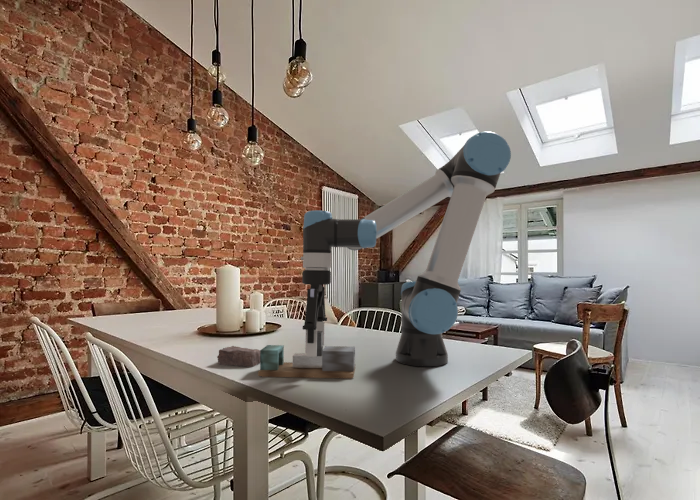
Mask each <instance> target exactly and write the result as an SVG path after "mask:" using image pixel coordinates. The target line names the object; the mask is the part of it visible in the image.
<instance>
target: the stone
mask: <svg viewBox="0 0 700 500" xmlns="http://www.w3.org/2000/svg"><path fill="white" fill-rule="evenodd" d="M260 350H261V349H257V348H254V349H253V348H247V347H241V346H234V345H232V346H226V347H223V348H221V349H219V350H218V355H217V356H216V357H217V362H218V364H219V365H221V366H238V367H250V368H251V367H256V366H258V365H259V364H260Z"/></svg>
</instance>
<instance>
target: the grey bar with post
mask: <svg viewBox="0 0 700 500" xmlns="http://www.w3.org/2000/svg"><path fill="white" fill-rule="evenodd" d="M323 349H324V345H323V331H317V356H316V357H313V356H305V353H297V352H296V353H293V355H292V363H293V368H322V351H323ZM354 367H355V368H356V353H355V354H354Z"/></svg>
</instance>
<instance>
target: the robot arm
mask: <svg viewBox="0 0 700 500" xmlns="http://www.w3.org/2000/svg"><path fill="white" fill-rule="evenodd" d="M511 157H512V152H511V148H510V145H509V143H508V142H507V140H506V139H505V137H503V136H501V135H500V134H498V133H497V132H492V131H481V132H477V133H476V134H473V135H472V136H470V137H469V138H468V139H467V140H466V142H465V143H464V145H463V146H462V147H461V148H460V149H459V150H458V151H457V153H455V155H454V156H452V158H451V159H450V160H449V161H448V162H446V163H445V164H444V165H443V166H441V167H439V168H437V169H436V171H435V174H434V175H432V176H431V177H430V178H428V179H426V180H424V181H423V182H421V183H419V184H417V185H416V186H414V187H413V188H411V189H409V190H407V191H405V192H404V193H403V194H401V195H399V196H397V197H396V198H393V199H392V200H391V201H389V202H387V203H386V204H384V205H382V206H380V207H379V208H377V209H375V210H373V211H372V212H370V213H369V214H367V215H365V216H364V217H362V218H359V219H346V218H345V219H339V218H338V219H337V218H333V214H332V212H330V211H327V210H317V209H316V210H308V211H306V212H305V213H304V216H303V227H302V253H303V254H302V256H300V260H301V261H302V268H303V269H304V270H302V273H301V274H302V278H301V279H302V280H301V281H302V284H303V285H310V287H309V288H308V289H306V290H307V291H306V293H307V294H306V305H305V306H306V307H305V314H304V315H305V317H304V325H302V330H303V331H304V330H305V347H304V349H305V356H313V357H316V356H317V331H323V346H325V322H328V317H327V315H326V303H325V301H326V300H325V299H326V298H325V297H326V295H325V294H326V292H325V289H326V288H325V286H326V285H327V286H328V285H330V284H331V282H332V281H331V280H332V272H331V270H330V269H331V268H332V248H347V249H349V250H351V251H359V250H362V249H367V248H375V247H376V245H377V239H379V238H380V237H382V236H384V235H385V234H387V233H389V232H390V231H393V230H394V229H396V228H397V227H399V226H400V225H402V224H403V223H405V222H407V221H409V220H410V219H412V218H414V217H416V216H417V215H420V214H421V213H422V212H424V211H426V210H428V209H429V208H431V207H432V206H435V205H436V204H438V203H439V202H441V201H443V200H444V199H446V198H450V199H449V202H448V204H447V208H446V210H445V214H444V216H443V219H442V222H441V225H440V228H439V231H438V234H437V236H436V240H435V242H434V246H433V248H432V252H431V254H430V258H429V260H428V263H427V265H426V268H425V269H426V270H425V271H424V272H422V273H420V274H418V275H417V277H416V280H414V281H407V282H404V283H402V285H401V291H400V296H401V298H400V299H401V335H400V337H399V341H398V344H397V347H396V351H395V361H396V362H398V363H400V364H403V365H405V366H406V365H408V366H413V367H438V366H444V365H446V364H447V363H448V362H449V355H448V350H447V348H446V346H445V341H444V339H443V335H442V334H443V333H446V332H447V331H449V330H450V329H451V328H452V327H453V326H454V325H455V323H456V322H457V318H458V314H459V308H458V299H459V296H460V295H461V291H462V288H461V287H460V285H459V282H458V281H459V278H460V274H461V272H462V269H463V267H464V264H465V261H466V258H467V255H468V252H469V249H470V245H471V243H472V240H473V236H474V234H475V231H476V228H477V225H478V222H479V220H480V216H481V213H482V212H483V207H484V204H485V202H486V199H487V198H486V197H488V196H489V195H491V194H493V193H494V192H495V190H496V187H497V184H498V181H499V179H500V176H501V173H503V172H504V171H505V170H506V168H507V167H508V165H509V164H510V161H511ZM323 285H325V286H323Z"/></svg>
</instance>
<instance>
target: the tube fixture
mask: <svg viewBox="0 0 700 500" xmlns="http://www.w3.org/2000/svg"><path fill="white" fill-rule="evenodd" d="M284 347H285V345H283V344H280V345H279V344H275V345H274V344H267V345H266V346H264V347H262V348H261V349H259V350H260V363H259V364H260V366H259V370H258V371H257V377H258V376H262V377H266V378H271V377H272V378H307V379H308V378H310V379H312V378H313V379H314V378H315V379H319V378H320V379H352V378H353V379H354V378H355V371H356V366H355V367H354V354H355V355H356V346H346V345H345V346H342V345H341V346H338V345H337V346H333V345H326V346H325V345H324V347H323V351H322V368H293V361H291V362H289V361H287V362H286V361H284V360H285V359H284V356H285V355H284V354H285V353H284V352H285V351H284V350H285V349H284Z"/></svg>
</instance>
